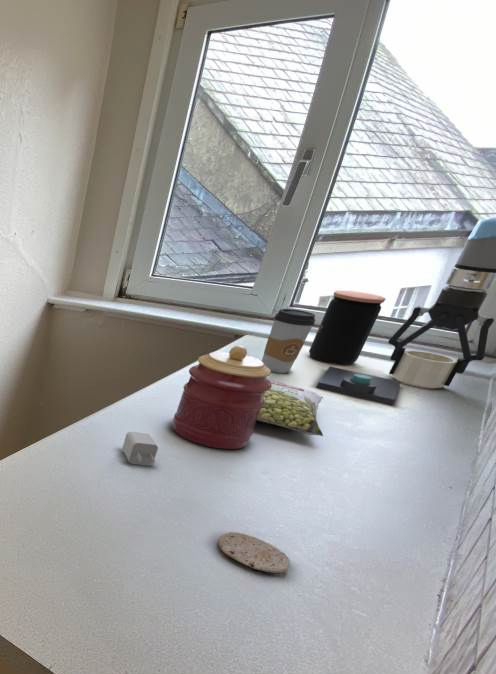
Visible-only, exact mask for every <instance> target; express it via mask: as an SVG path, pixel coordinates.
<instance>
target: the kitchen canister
mask: <svg viewBox="0 0 496 674" xmlns="http://www.w3.org/2000/svg"><path fill="white" fill-rule="evenodd" d="M197 361H198V364H195V365H193V366H191V367H190V368H189V369H188V373H189V375H190V377H189V379H188V381H187V382H186V383H185V384H183V390H182V393H181V398H180V400H179V403H178V406H177V409H176V412H175V413H174V415H173V418H172V429H173V430H174V431H175V433H176V434H178V435H179V436H181V437H182V438H184V439H187V440H188V441H191V442H193V443H195V444H198V445H202V446H206V447H210V448H215V449H223V450H236V449H241V448H244V447H245V446H247V444H248V442H249V441H250V440H251V439H252V435H253V430H254V428H255V425H256V423H257V421H258V420H257V418H258V416H259V413H260V411H261V408H262V407H263V406H264V404H265V401H264V399H263V398H264V394H265V392H266V391H268V390H269V389H270V388H271V387H272V385H271V383H270V381H271V380H269V379H268V378H267V377H269V376H270V375H271V374H272V371H271V370H270V369H269V368H268V367H266V366H265V365H264V363H263V362H262V360H260V359H259V358H256V357H253V356H250V355H248V350H247V348H246V347H245V346H243V345H235V346H233V347H231V348H230V350H229V351H219V350H218V351H212V352H210V353H207V354H204V355H200V356H199V357H198V358H197Z"/></svg>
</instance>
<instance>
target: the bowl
mask: <svg viewBox="0 0 496 674" xmlns="http://www.w3.org/2000/svg"><path fill="white" fill-rule="evenodd" d="M457 360H458V359H455V358H453V357H450V356H447V355H443V354H440V353H435V352H429V351H423V350H415V349H414V350H412V349H407V350H405V351H404V353H403V355H402V357H401V359H400V361H399V363H398V365H397V367H396V369H395V371H394V373H393V374H391V377H392V378H394V380H396V381H400V382H401V383H402V384H403V385H404V384H405V385H408V386H412V387H415V388H421V389H430V390H431V389H432V390H433V389H441V388H444V387H445V383H446V381H447V379H448V378H449V376H450V374H451V372H452V371H453V369H454V367H455V365H456V363H457ZM401 383H400V384H401Z"/></svg>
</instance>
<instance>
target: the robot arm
mask: <svg viewBox="0 0 496 674" xmlns="http://www.w3.org/2000/svg"><path fill="white" fill-rule="evenodd" d="M495 282H496V217H494V216H493V217H492V216H487V217H483V218H481V219H480V220H478V221H477V223H476V224H475V226H474V228H473V229H472V231H471V233H470V235H469V236H467V238H466V242H465V244H464V246H463V248H462V250H461V253H460V254H459V256H458V258H457V260H456V262H455V264H454V266H453V268H452V269H451V271H450V273H449V275H448V277H447V279H446V281H445V285H446V286H444V287H443V288H442V289H441V291H440V293H439V294H438V296H437V299H436V300H435V302H434V304H433V305H432V306H430V307H425V306H420V305H416V306H415V307H414V308H413V310H412V313H411V315H410V316H409V317H408V318H407V319H406V321H404V322H403V323H402V325H400V327H399V328H398V329H397V330H396V331H395V332H394V333H393V335H391V337H390V338H389V339H388V340H387V341H388V342H387V343H388V344H389V345H392V346H393V347H394V349H393V352H392V353H391V356H390V361H394V362H393V364H392V366H391V368H390V370H389V372H388V374H389V375H392V374H393V373H394V371H395V369H396V367H397V365H398V363H399V361H400V359H401V357H402V355H403V353H404V351H406V349H407V348H406V347H405V346H407V345H408V344H409V343H411V342H413V341H414V340H415V339H417V338H418V337H420V336H421V335H423V334H424V333H426V332H427V331H429V330H431V329H432V328H434V327H436V328H440V329H441V328H442V329H443V328H446V329H448V330H454V331H455V330H457V333H458V338H459V343H460V348H461V353H462V357H457V359H456V360H457V363H456V365H455V367H454V369H453V371H452V372H451V374H450V376H449V378H448V379H447V381H446V383H445V385H444V387H445V386H446V387H450V386H451V385H450V384H451V383H452V381H453V380H454V378H455V376H456V374H460V375H461V374H463V373H465V371H466V369H467V367H468V365H469V364H470V362H473V361H483V360H484V359H485V353H486V346H487V342H488V335H489V328H490V327H491V326H492V325H493V323H494V322H495V318H494V317H493V316H484V315H480V314H479V311H480V310H481V307H482V306H483V303H484V302H485V300H486V298H487V296H488V292H487V291H489V290H491V289H492V287H493V285H494V283H495ZM427 313H428V315H429V318H430V319H429V320H428V321H427V322H426V323H424V324H422V326H420V327H419V328H417V329H416V330H414V331H413V332H412V333H410V334H408V335H407V336H406V337H404V338H402V339H401V340H399V339H400V338H401V336H402V335H403V334H404V333H405V332H406V331H407V330H408V329H409V328H410V327H411V326H412V324H414V322H416V320H417V319H418V317H422V316H424V314H427ZM475 321H477V324H478V326H479V327H480V328H479V333H478V339H477V347H476V353H471V348H470V344H469V339H468V334H467V329H466V326H467V325H470V324H471V323H473V322H475Z"/></svg>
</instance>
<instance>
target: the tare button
mask: <svg viewBox="0 0 496 674" xmlns="http://www.w3.org/2000/svg"><path fill="white" fill-rule="evenodd" d="M370 380H371V377H369V376H366V375H362V374H354V375H353V377H352V380H351V381H352V382H355V383H358V384H364V385H369V382H370Z"/></svg>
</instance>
